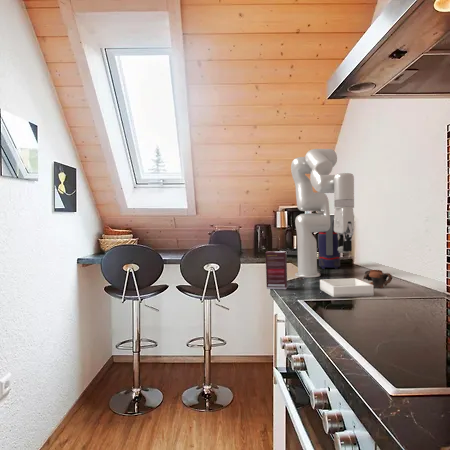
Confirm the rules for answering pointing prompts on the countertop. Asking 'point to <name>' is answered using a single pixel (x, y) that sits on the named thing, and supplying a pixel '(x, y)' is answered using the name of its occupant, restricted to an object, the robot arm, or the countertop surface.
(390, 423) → the countertop surface
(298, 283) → the countertop surface
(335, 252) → the navy blue canister
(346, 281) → the bin
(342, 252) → the figurine
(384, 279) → the brown two-tone ridged part
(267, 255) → the supplement box
